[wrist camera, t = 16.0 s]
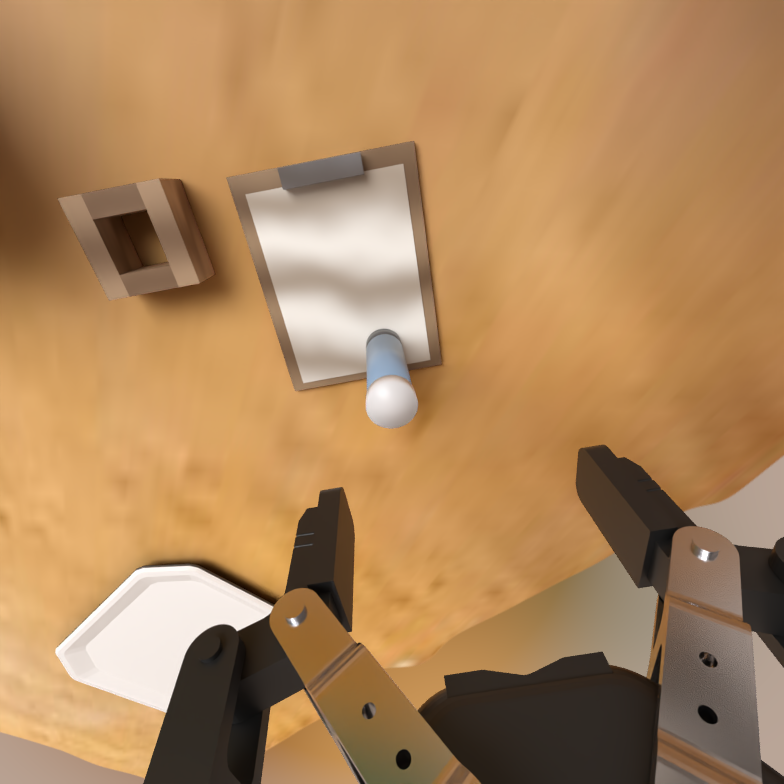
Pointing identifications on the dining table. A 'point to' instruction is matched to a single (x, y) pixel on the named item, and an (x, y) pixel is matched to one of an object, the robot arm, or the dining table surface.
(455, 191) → the dining table surface
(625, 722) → the robot arm
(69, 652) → the plate
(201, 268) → the pen block
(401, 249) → the clipboard
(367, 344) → the marker
